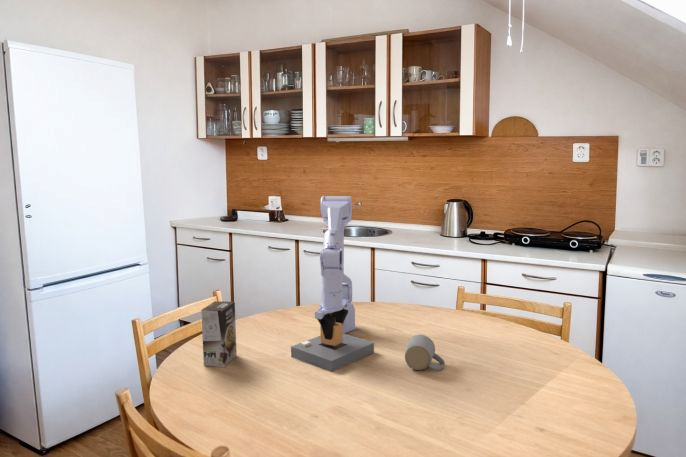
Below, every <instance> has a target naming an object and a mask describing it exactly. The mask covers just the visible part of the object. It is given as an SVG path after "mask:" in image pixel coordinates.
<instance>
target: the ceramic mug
mask: <svg viewBox="0 0 686 457" xmlns="http://www.w3.org/2000/svg"><path fill="white" fill-rule="evenodd" d="M435 352H436V346H435V343H434V341H433V340H432V339H431V338H430V337H428V336H427V335H423V334H416V335H414V336H412V337H410V339H409V340H408V342H407V346H406V348H405V352H404V360H405V363H406V364H407V366H408V367H409V368H411V369H413V370H414V371H423V370H424V369H427V368H428V367H430V368H432V369H434V370H436V371H441V370H443V369H444V367H445V365H446V363H445V362H446V361H445V360H444V359H443V358H442V357H441V356H440V355H438V354H437V353H435ZM433 360H435V361H436V362H438V363H439V364H437V363H435V362H433Z"/></svg>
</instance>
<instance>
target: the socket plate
mask: <svg viewBox="0 0 686 457" xmlns="http://www.w3.org/2000/svg"><path fill="white" fill-rule="evenodd" d="M374 353H375V342H374V341H369V340H367V339H363V338H360V337H357V336H353V335H350V334H347V333H343V342H341V343H340V344H338V345H336V346H333V345H328V344H324V343H321V335H318V336H316V337H313V338H310V339H308V340H305V341H302V342H299V343H296V344H295V345H292V346H290V356H291V358H294V359H297V360H299V361H302V362H303V363H304V362H305V363H307V364H310V365H313V366H314V367H318V368H320V369H323V370H326V371H329V372H334V371H336V370H338V369H341V368H343V367H346V366H347V365H350V364H352V363H354V362H356V361H359V360H361V359H363V358H365V357H368V356H369V355H372V354H374Z"/></svg>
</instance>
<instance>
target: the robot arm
mask: <svg viewBox="0 0 686 457" xmlns="http://www.w3.org/2000/svg"><path fill="white" fill-rule="evenodd" d="M320 214H321V218H322V220H323V222H324V223H327V226H328V227H327V230H326V231H325V232H324V234H323V241H322V250H321V251H320V253H319V266H320V275H321V284H322V285H321V303H319V308H318V309H317V310H315V311H314V319H316V320H317V321H318V323H319V326H320V325H321V327H322V330H323V334H324V337H325V339H329V340H331V339H332V336H333V326H334V322H335V320H336V322H338V323H343V333H344V334H347V333H349V332H351V331H355V330H357V329H358V326H356V308H355V305H354V303H352V302H353V281H352V279H351V278H350V277H349V276H348V275H346V274H345V273H344V269H345V268H344V267H345V265H344V264H345V262H344V261H345V260H344V259H345V257H344V255H345V252H344V250H345V249H344V248H345V247H344V246H345V243H344V242H345V237H344V236H345V227H346V225H347V224H348V223H350V222H352V217H353V215H352V214H353V197H352V196H351V195H348V196H346V195H345V196H343V195H342V196H341V195H340V196H339V195H337V196H335V195H334V196H332V195H331V196H327V195H326V196H325V195H322V196H321V197H320Z"/></svg>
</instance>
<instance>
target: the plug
mask: <svg viewBox="0 0 686 457" xmlns="http://www.w3.org/2000/svg"><path fill="white" fill-rule="evenodd" d="M319 326H320V336H321V343H324V344H328V345H333V346H336V345H338V344H340V343H341V342H343V323H338V322H336V320H335V322H334V326H333V336H332V339H331V340H329V339H325V337H324V334H323V330H322V327H321V325H320V324H319Z"/></svg>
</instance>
